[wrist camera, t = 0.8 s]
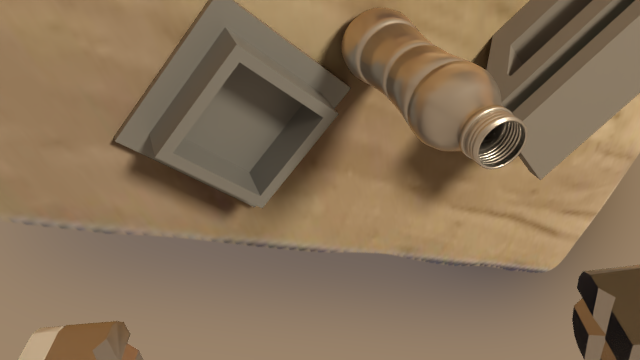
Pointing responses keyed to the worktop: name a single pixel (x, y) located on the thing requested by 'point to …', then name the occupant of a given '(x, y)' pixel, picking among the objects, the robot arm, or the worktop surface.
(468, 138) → the plastic bottle
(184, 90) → the holder
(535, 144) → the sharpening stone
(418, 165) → the worktop surface
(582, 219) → the worktop surface
